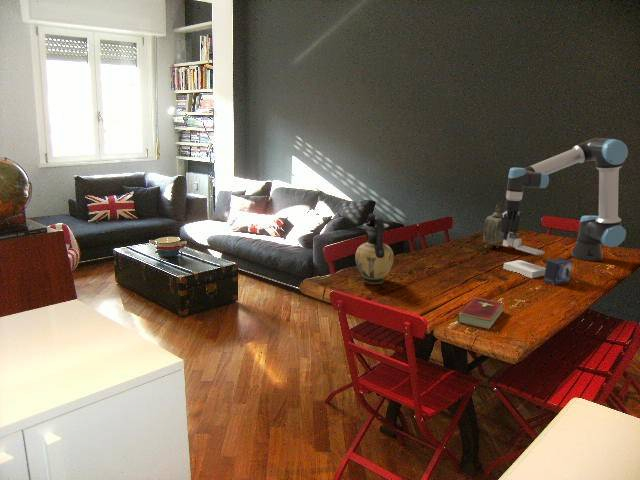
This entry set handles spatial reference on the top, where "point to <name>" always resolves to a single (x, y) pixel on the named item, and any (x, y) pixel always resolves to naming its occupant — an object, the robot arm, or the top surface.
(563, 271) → the small box
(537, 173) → the robot arm
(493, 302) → the hardcover book
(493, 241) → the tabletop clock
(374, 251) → the amphora
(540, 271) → the board
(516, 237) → the dark gray bar
